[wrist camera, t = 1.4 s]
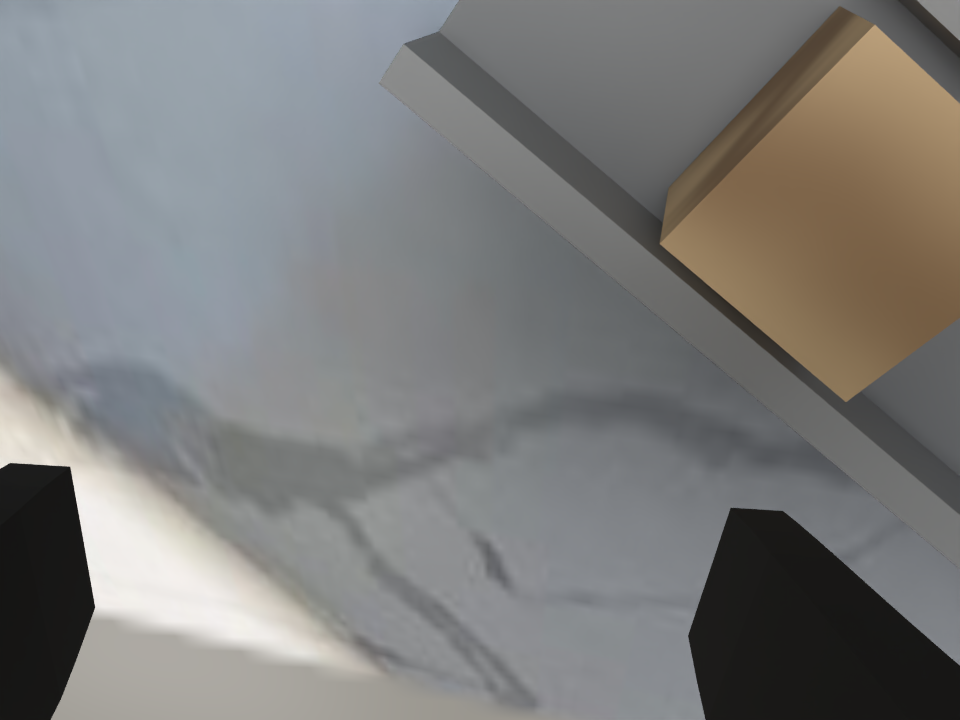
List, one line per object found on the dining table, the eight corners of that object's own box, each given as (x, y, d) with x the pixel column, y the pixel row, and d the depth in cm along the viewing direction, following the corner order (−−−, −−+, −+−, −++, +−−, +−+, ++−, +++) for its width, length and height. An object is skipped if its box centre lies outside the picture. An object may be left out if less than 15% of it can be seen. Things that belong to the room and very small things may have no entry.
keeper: (840, 5, 16) (874, 24, 13) (1010, 164, 17) (1088, 222, 13) (668, 187, 19) (659, 243, 15) (821, 319, 19) (845, 402, 16)
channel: (691, -338, 15) (687, -419, 12) (1485, 427, 18) (1672, 544, 14) (412, 85, 20) (352, 115, 17) (1061, 630, 23) (1123, 752, 19)
